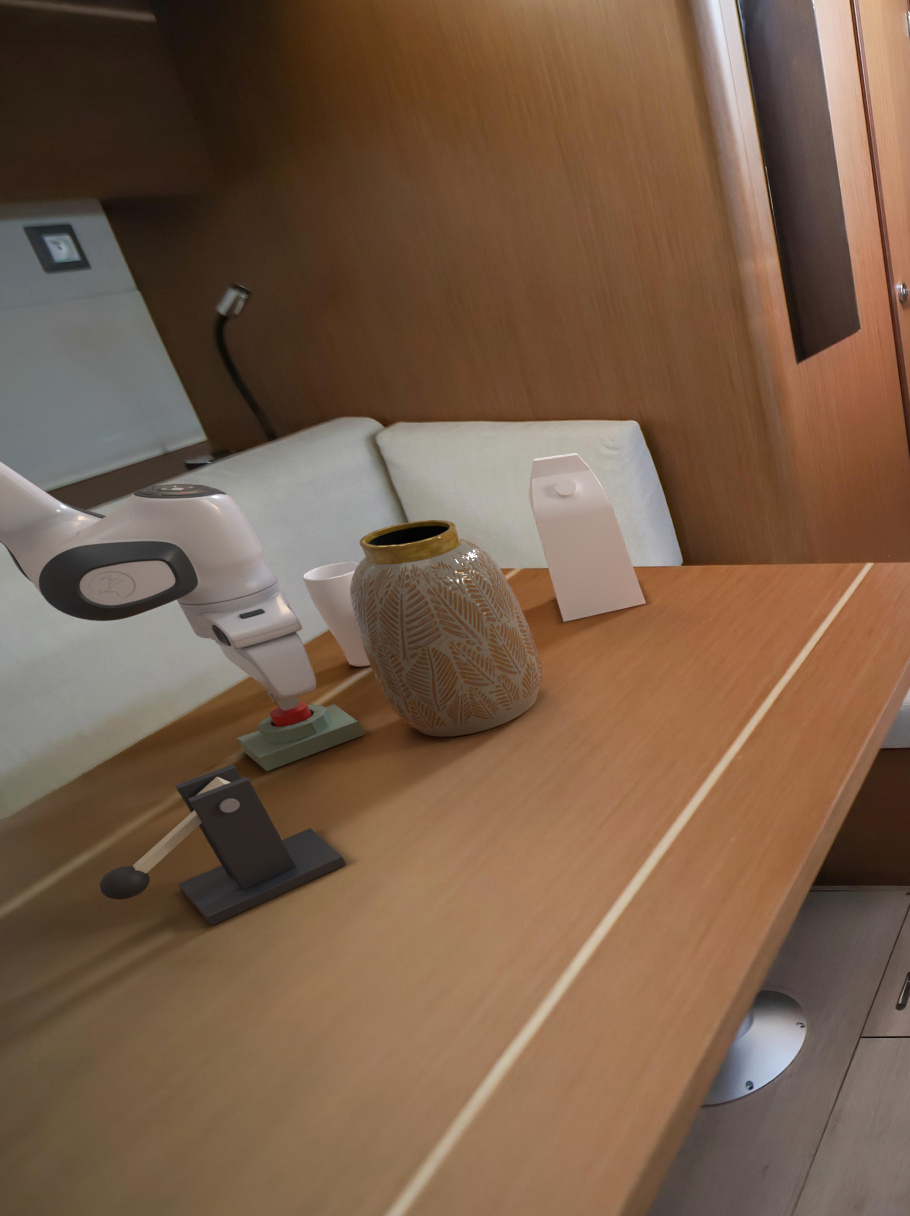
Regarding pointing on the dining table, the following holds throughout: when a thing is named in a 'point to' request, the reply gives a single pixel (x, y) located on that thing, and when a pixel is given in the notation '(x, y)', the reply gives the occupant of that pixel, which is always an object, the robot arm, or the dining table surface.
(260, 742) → the green button base
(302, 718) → the power button
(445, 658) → the vase
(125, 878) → the lever switch
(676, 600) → the dining table surface
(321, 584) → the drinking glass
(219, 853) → the lever on stand
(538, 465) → the milk
